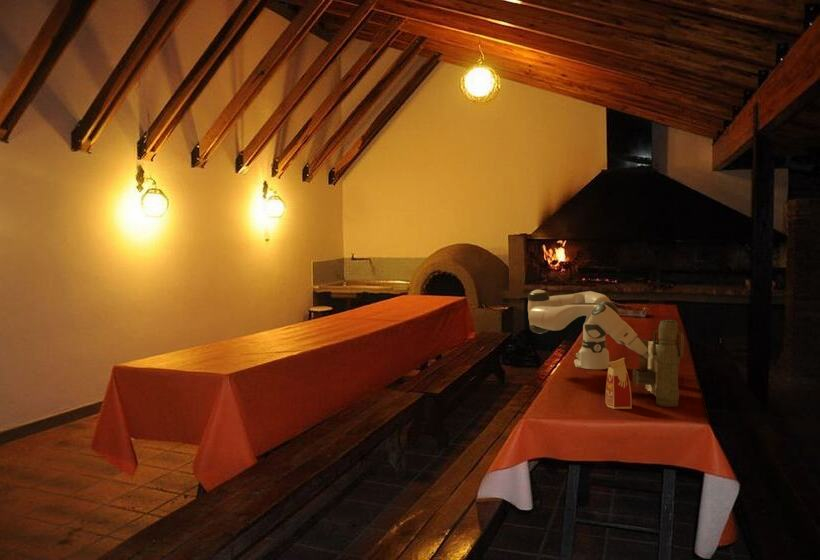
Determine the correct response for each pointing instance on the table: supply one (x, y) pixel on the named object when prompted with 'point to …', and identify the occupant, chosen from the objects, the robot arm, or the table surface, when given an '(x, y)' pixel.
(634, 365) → the table surface
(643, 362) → the cylinder
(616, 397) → the milk carton
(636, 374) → the bracket
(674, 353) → the thermos
